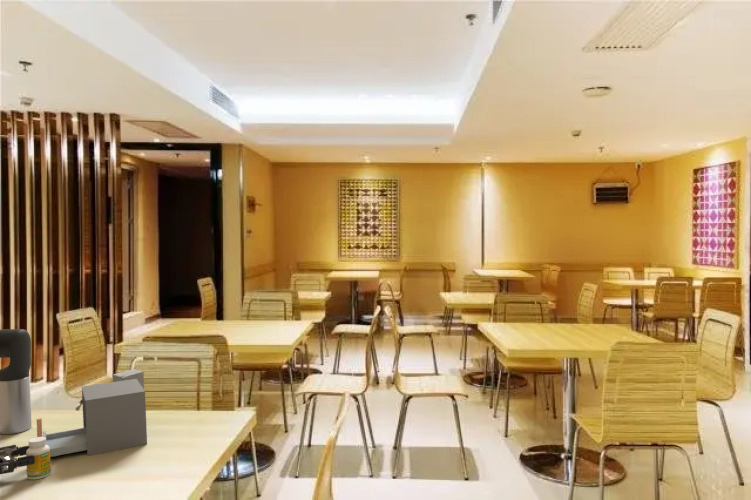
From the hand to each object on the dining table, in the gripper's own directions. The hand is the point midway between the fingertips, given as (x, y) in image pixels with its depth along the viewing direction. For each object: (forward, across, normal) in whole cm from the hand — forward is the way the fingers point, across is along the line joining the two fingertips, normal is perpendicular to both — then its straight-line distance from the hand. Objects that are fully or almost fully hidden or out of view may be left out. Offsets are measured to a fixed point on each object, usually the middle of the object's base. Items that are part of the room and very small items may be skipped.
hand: (35, 453), depth 150 cm
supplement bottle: (+1, 0, +6) cm, 6 cm away
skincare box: (+28, +39, +6) cm, 48 cm away
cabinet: (+21, +17, +6) cm, 27 cm away
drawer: (+9, +17, +5) cm, 20 cm away
